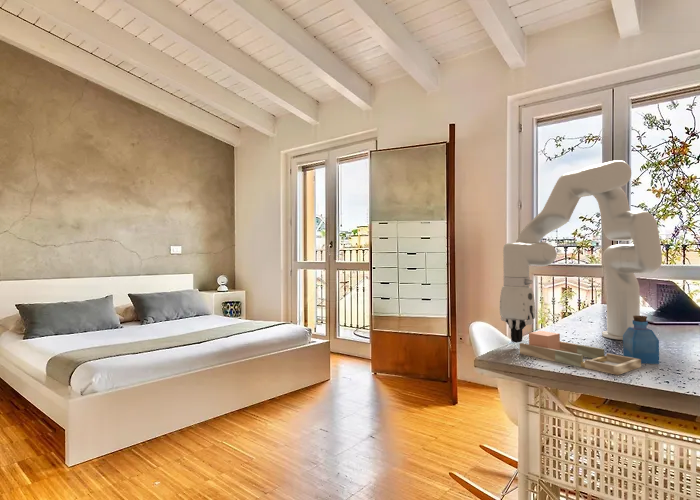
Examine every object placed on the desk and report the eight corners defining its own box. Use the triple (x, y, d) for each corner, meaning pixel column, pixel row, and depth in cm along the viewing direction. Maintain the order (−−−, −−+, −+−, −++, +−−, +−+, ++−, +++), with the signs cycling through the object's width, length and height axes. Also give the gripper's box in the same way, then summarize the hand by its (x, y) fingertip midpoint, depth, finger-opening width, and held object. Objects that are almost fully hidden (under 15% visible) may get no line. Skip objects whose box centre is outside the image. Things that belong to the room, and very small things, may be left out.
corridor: (543, 348, 133) (543, 338, 133) (641, 367, 111) (640, 355, 111) (519, 353, 127) (519, 343, 127) (618, 375, 104) (617, 362, 104)
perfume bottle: (659, 364, 114) (658, 318, 114) (633, 363, 115) (632, 318, 115) (648, 358, 120) (647, 314, 120) (623, 357, 121) (622, 314, 121)
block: (541, 350, 131) (540, 330, 131) (560, 354, 126) (559, 333, 126) (529, 353, 128) (528, 333, 128) (548, 357, 123) (547, 336, 123)
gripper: (545, 283, 130) (546, 344, 130) (503, 280, 143) (504, 336, 142) (530, 284, 126) (531, 347, 126) (488, 281, 138) (489, 339, 138)
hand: (516, 341), depth 134 cm, fingers closed
